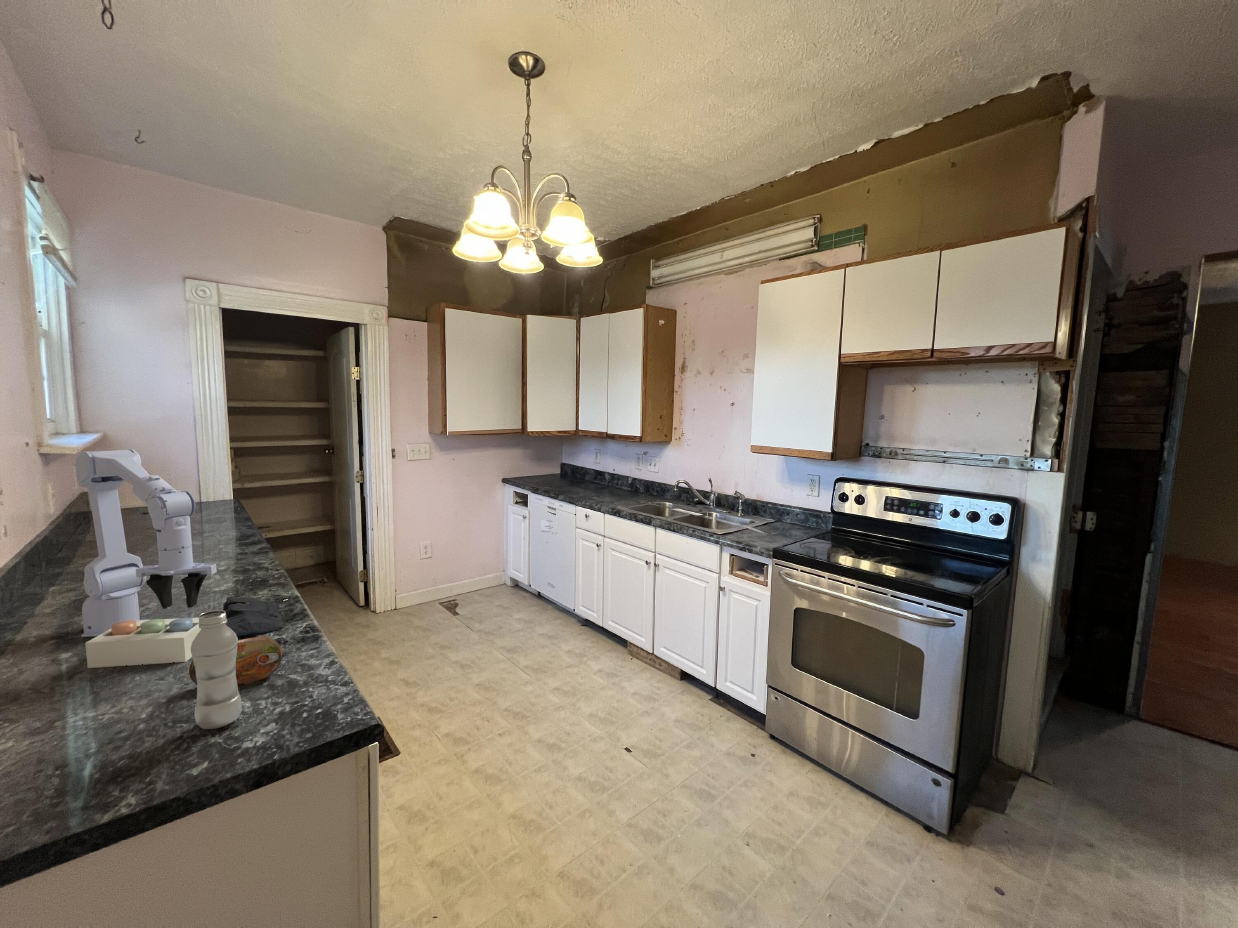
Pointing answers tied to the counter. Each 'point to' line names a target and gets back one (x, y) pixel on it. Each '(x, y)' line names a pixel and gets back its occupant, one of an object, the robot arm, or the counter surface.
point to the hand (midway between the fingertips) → (179, 606)
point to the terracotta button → (124, 627)
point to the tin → (252, 659)
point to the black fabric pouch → (251, 616)
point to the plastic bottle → (215, 672)
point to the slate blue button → (181, 625)
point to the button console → (141, 647)
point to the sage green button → (152, 626)
